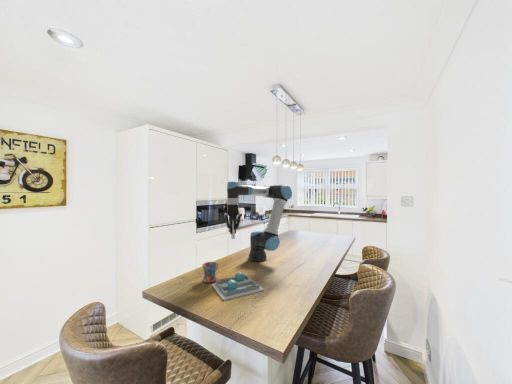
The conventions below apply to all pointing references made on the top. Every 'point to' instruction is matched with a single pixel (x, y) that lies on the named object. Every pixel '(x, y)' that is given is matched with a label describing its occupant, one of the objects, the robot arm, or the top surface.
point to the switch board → (242, 288)
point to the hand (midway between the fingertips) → (233, 238)
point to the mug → (210, 272)
